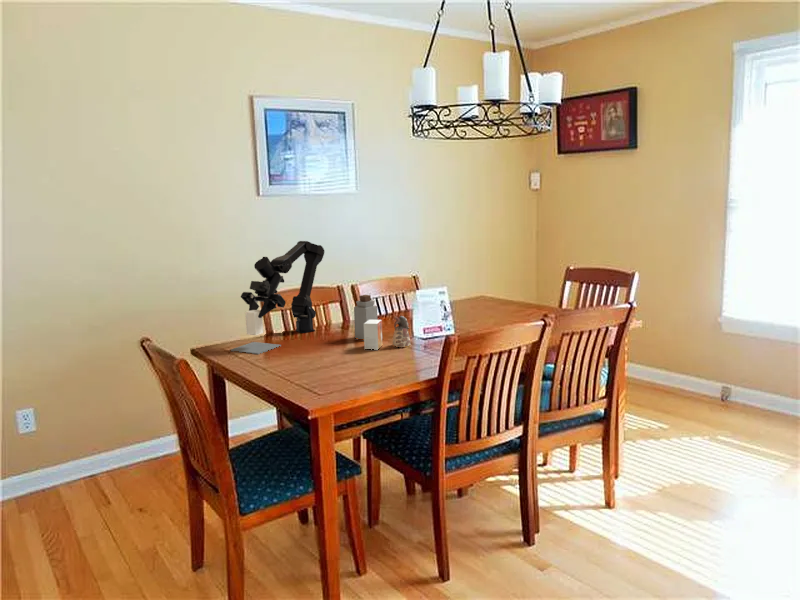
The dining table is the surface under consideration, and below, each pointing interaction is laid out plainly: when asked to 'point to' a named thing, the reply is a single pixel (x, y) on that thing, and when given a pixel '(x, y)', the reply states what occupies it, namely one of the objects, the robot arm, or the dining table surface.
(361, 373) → the dining table surface
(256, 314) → the pale block
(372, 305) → the grey bottle
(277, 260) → the robot arm
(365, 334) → the small box
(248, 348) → the charcoal mat
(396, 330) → the figurine
